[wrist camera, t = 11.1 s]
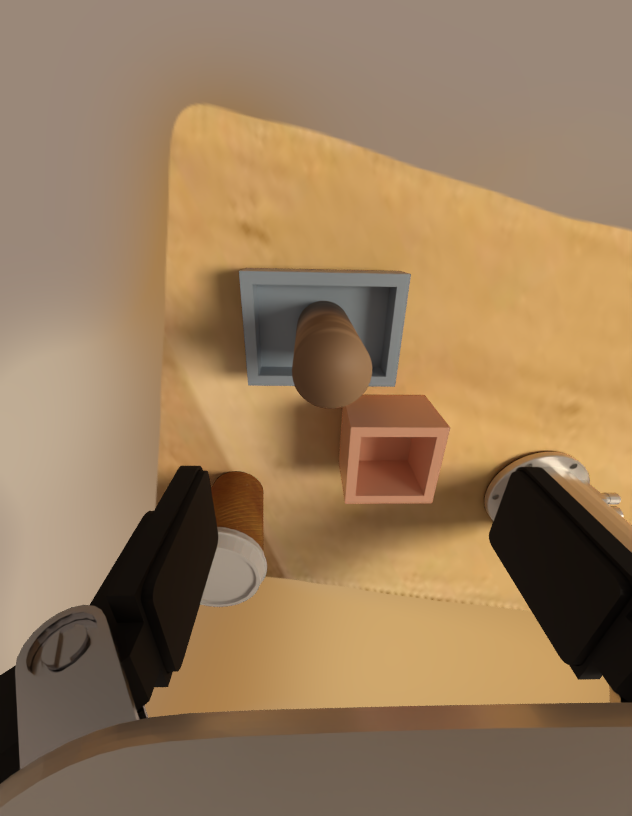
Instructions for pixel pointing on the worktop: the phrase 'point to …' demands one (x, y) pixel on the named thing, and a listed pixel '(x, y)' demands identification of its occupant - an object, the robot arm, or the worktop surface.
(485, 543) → the worktop surface
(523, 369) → the worktop surface
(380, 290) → the tray
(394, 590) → the worktop surface
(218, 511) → the disposable coffee cup
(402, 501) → the terracotta open box
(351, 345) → the peg
